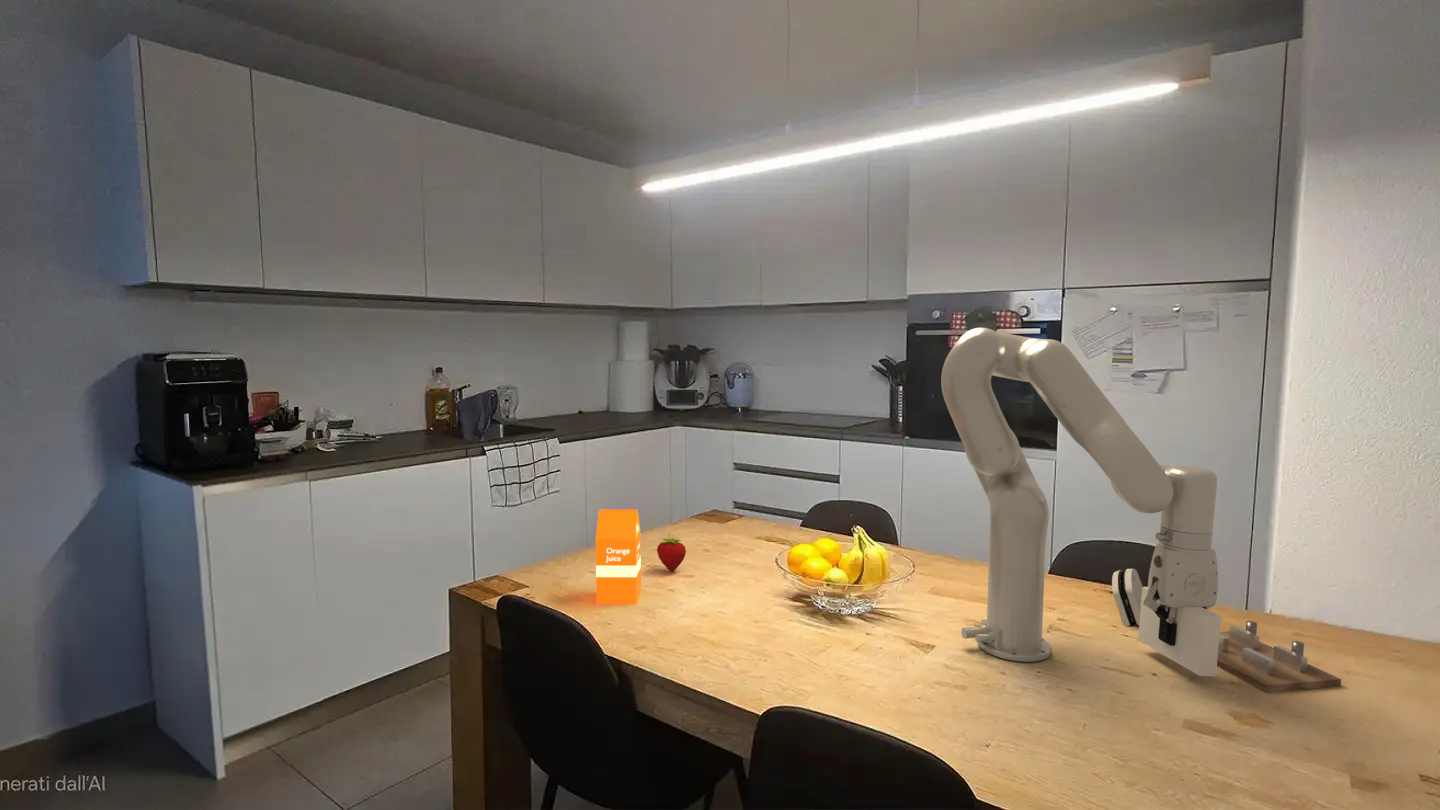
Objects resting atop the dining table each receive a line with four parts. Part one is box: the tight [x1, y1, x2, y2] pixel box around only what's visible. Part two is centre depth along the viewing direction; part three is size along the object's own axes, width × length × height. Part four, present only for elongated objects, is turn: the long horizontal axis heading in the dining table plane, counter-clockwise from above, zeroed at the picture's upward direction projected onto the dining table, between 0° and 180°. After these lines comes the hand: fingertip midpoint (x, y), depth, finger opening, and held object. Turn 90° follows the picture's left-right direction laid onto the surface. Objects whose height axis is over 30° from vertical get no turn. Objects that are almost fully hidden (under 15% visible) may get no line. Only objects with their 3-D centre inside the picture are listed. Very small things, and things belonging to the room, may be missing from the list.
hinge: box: [1111, 568, 1144, 627], centre depth 149 cm, size 17×5×10 cm, turn 147°
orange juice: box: [595, 509, 642, 605], centre depth 159 cm, size 8×9×20 cm
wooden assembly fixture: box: [1217, 620, 1342, 693], centre depth 126 cm, size 14×20×5 cm
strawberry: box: [656, 535, 687, 573], centre depth 177 cm, size 6×8×10 cm
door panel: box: [1137, 586, 1222, 677], centre depth 124 cm, size 3×14×10 cm, turn 9°
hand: (1176, 641), depth 124 cm, fingers closed on door panel, 3 cm apart
